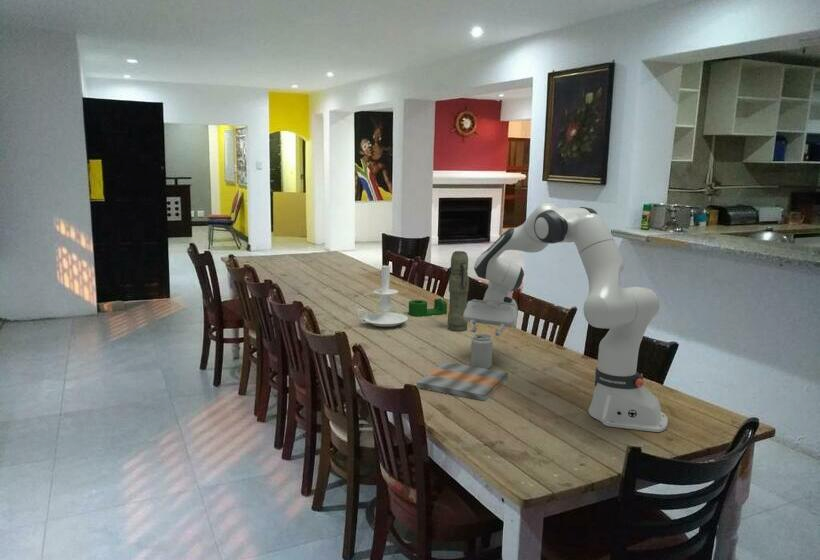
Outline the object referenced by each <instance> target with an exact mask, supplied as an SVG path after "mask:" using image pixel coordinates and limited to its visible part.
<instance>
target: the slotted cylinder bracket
mask: <svg viewBox="0 0 820 560" xmlns="http://www.w3.org/2000/svg"><path fill="white" fill-rule="evenodd" d="M447 311H448V303H447V301H446V300H442V298H434V305H433V308H428V301H427V300H422V299H413V300H409V301H408V316H409V317H415V318H420V317H421V318H423V316H424V317H433V316H432V315H434V316H444V315H443V314H445V315H448V313H447Z"/></svg>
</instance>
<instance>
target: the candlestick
mask: <svg viewBox="0 0 820 560" xmlns="http://www.w3.org/2000/svg"><path fill="white" fill-rule="evenodd" d="M390 267H391V265H382V266H381V271H380V272H381V284H380V285H381V286H380V288H376V289H374V290H373V291H372V293H375V294H377V295H380V296H381V299H380V300H379V302H378V303H379V304H378V305H379V308H380V310H382V311H381V312H373V313H372V312H371V313H367V311H366V309H356V313H357V314H356V316H357V319H359V321H360V323H361V324H370V325H372V326H375V327H376V326H377V327H382V328H385V327H396V326H399V325H401V324H403V323H404V322H406V321H408V320H409V319H408V316H407V315H405V314H403V313H397V312H389V310H390V309H391V308H392V305H393V303H392V300H391V298H390V297H391V296H392V295H394V294H398V293H399V290H397V289H393V288H390V280H391V278H390V277H391V276H390V274H391V268H390ZM361 312H364V315H363V317H360V313H361Z"/></svg>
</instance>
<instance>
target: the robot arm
mask: <svg viewBox="0 0 820 560" xmlns="http://www.w3.org/2000/svg"><path fill="white" fill-rule="evenodd" d="M556 243H557V244H558V243H559V244H560V243H561V244H562V243H574V245H575V247H576V250H577V253H578V255H579V257H580V260H581V263H582V265H583V267H584V270H585V274H586V277H587V281H588V294H587V297H586V299H585V300H584V304H583V308H582V309H583V315H584V318H585V321H586V322H587V323H588V324H589V325H590V326H592V327H593V328H597V329H609V330H608V331H607V333H606V334H605V335H604V337H602V339H601V340H600V342H599V345H598V355H597V366H596V368H595V370H594V381H593V382H594V391H593V395H592V400H591V402H590V403H591V404H590V406H589V408H588V409H587V410H588V411H587V413H588V414H589V415H590V416H591V417H592V418H593V419H596V420H597V421H600V422H601V423H602V424H603V425H604V426H607V427H613V428H620V429H629V430H637V431H644V432H655V433H660V432H663V431H665V430H666V428H667V427H668V425H669V424H668V423H669V421H668V420H669V418H668V416H667V415H666V414H665V413H664V412H662V410H661V404H660V402H659V401H660V400H659V399H658V398H657V396H656V395H654V394H653V393H652V392H651V391H650V390H648V389H647V388H646V387H645V386H644V376H643V375H644V374H643V373H639V371H637V367H638V357H639V351H640V348H641V347H640V345H641V343H642V339H643V337H644V335H645V332H646V330H647V328H648V326H649V324H650V322H651V321H652V320H653V319H654V317H656V315H657V314H658V312H659V310H660V301H659V300H660V299H659V297H658V295H657V294H656V292H655V291H654V290H652V288H651V289H650V288H649V287H648V288H647V287H643V286H628V287H623V286H622V283H621V273H622V271H623V270H624V268H625V261H624V260H623V257H622V254H621V252H620V249H619V247H618V244H617V243H616V240H615V238H614V236H613V234H612V232H611V230H610V229H609V226H608V224H606V222H605V220H604V219H603V218H602V217H601V216H600V215H599V214H598V212H597V210H594V209H593V208H591V207H586V206H585V207H584V206H581V207H561V208H560V207H559V206H558V205H556V204H554V203H552V202H544V203H541V204H540V205H538V206H537V207H536V208H535V209H533V211H532V212H531V214H529V216H528V217H527V218H526V220H525V221H524V223H522V224H520V225H518V226H517V227H513V228H508V229H507V230H506V231H505V232H503V233H502V234H501V235H500V236H499V237H497V239H496V240H495V241H494V242H493V243H492V244H491V245H490V246H489V247H488V248H487V249H486V250H485V251H483V252H482V253H481V254H480V255H479V256H478V257H477V258H476V260H475V262H474V266H473V269H474V272H475V274H476V276H477V277H478V278H480V279H483V280H487V281H488V283H487V284H488V287H487V289H486V290H485V293H484V296H483V299H482V300H481V299H475V298H474V299H471V300H468V301H467V307H466V309H465V311H464V314H463V317H464V319H465V321H467V322H468V323H470V324H471V328H470V331H471V333H477V327H476V326H475V325H476V324H482V325H483V324H484V325H488V326H489V325H490V326H496V327H499V328H498V329H495V332H494V334H495V336H498V337H500V336H501V333H502V332H503V331H504V330H506V328H515V327H516V326H517V324H518V317H519V316H518V311H519V310H518V309H519V308H518V304H517V302H516V300H515V298H512V297H509V295H510V294H509V293H510V292H514V291H516V290H518V289H519V288H520V287H521V285H522V282H523V280H524V276H525V272H524V269H523V267H522V266H521V265H519V264H517V263H515V262H512V261H510V260H508V259H506V258H503V257H501V255H502V254H503V253H504V252H506V251H518V252H519V251H520V252H525V253H538V252H541V251H543V250H544V249H546V248H547V247H548V246H549V244H556Z"/></svg>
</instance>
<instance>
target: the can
mask: <svg viewBox="0 0 820 560" xmlns="http://www.w3.org/2000/svg"><path fill="white" fill-rule="evenodd" d="M492 354H493V340H492V338H491V335H488V334H486V333H485V334H484V333H479V334H475V335H473V338H472V339H471V353H470V366H474V367H480V368H486V369H491V368H492V361H493V360H492V359H493V355H492Z"/></svg>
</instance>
